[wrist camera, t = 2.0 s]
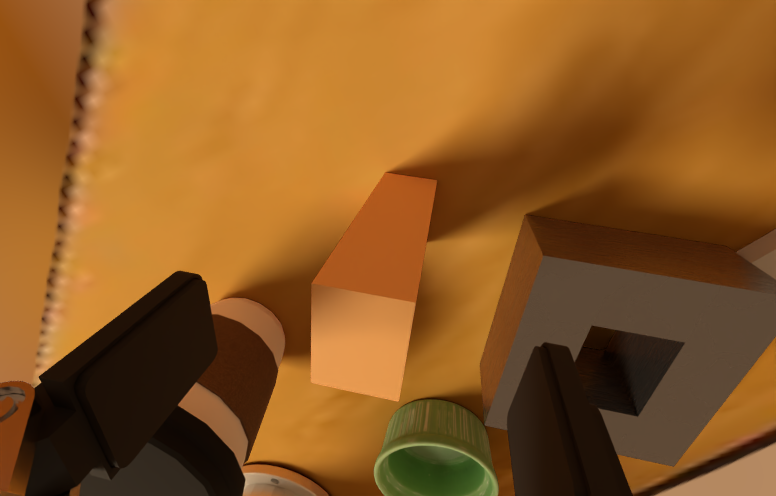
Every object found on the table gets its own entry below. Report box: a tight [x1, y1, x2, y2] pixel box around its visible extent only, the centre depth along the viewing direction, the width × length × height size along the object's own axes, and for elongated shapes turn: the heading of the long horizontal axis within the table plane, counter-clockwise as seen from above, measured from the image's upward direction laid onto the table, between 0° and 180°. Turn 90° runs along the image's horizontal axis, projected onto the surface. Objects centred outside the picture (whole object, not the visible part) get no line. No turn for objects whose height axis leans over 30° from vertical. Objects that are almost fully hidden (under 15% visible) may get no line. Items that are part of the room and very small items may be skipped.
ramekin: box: [374, 399, 499, 496], centre depth 28 cm, size 9×9×4 cm
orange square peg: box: [311, 172, 437, 402], centre depth 16 cm, size 3×4×12 cm
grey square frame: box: [480, 215, 776, 467], centre depth 21 cm, size 12×11×5 cm
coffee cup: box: [79, 298, 285, 496], centre depth 23 cm, size 11×11×12 cm
